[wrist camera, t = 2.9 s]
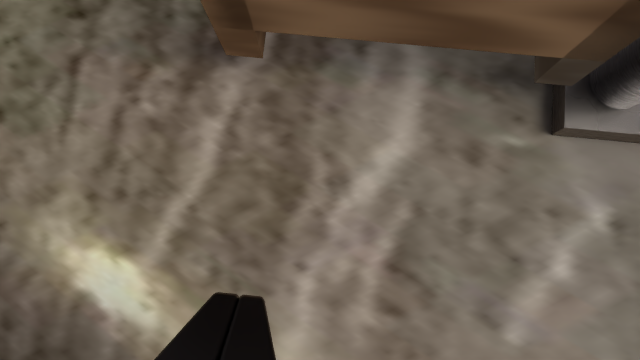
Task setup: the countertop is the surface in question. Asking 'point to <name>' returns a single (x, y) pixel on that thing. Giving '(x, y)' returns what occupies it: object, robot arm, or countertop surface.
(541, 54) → the gate
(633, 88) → the gate post
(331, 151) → the countertop surface
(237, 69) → the countertop surface
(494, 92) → the countertop surface
